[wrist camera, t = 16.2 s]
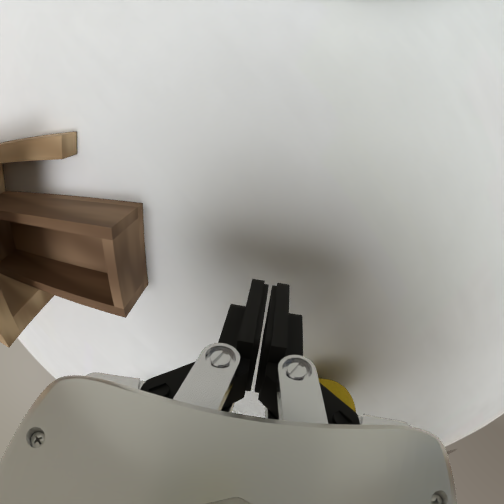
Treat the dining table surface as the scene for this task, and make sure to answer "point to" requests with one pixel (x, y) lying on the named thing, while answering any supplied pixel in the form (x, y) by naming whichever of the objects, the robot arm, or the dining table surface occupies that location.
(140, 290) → the brown wooden tray
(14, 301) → the oak dock
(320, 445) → the robot arm
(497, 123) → the dining table surface
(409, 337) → the dining table surface
